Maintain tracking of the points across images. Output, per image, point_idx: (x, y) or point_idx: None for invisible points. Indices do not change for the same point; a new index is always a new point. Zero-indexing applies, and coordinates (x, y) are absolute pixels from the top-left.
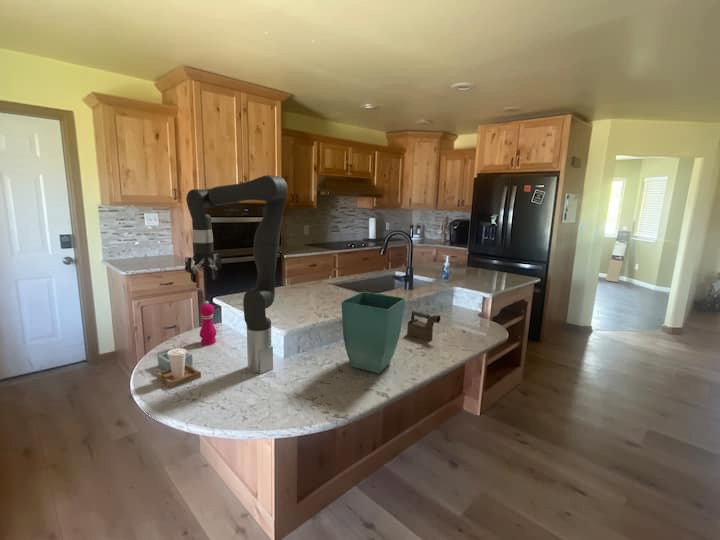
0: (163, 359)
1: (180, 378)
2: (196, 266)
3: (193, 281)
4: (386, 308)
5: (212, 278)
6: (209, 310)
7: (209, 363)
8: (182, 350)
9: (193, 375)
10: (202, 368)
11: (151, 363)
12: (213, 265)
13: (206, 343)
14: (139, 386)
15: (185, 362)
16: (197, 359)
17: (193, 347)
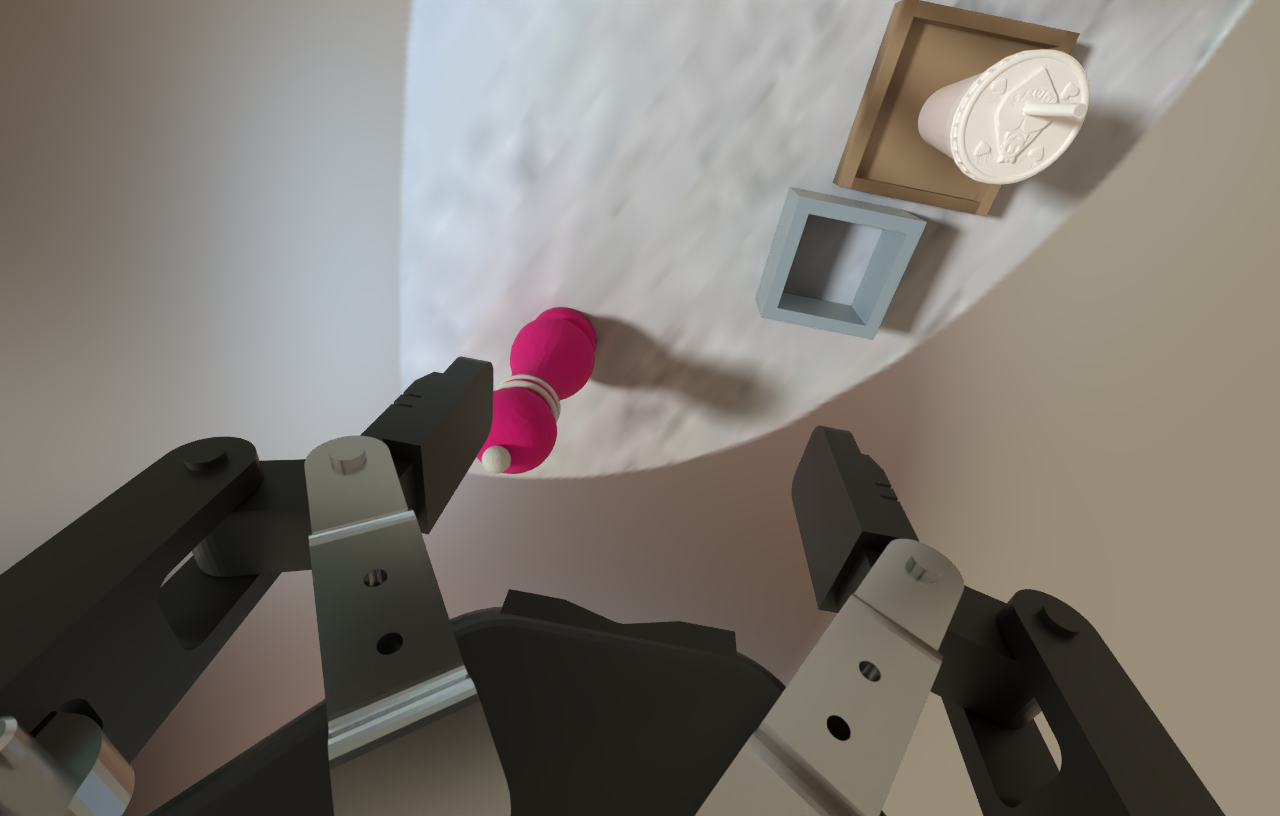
0: (900, 278)
1: (1014, 36)
2: (924, 686)
3: (864, 456)
4: None
5: (489, 424)
6: (519, 399)
7: (733, 126)
8: (990, 106)
9: (950, 7)
10: (797, 106)
11: (848, 362)
12: (385, 534)
13: (588, 325)
14: (1064, 210)
15: (831, 198)
16: (727, 225)
17: (640, 350)
